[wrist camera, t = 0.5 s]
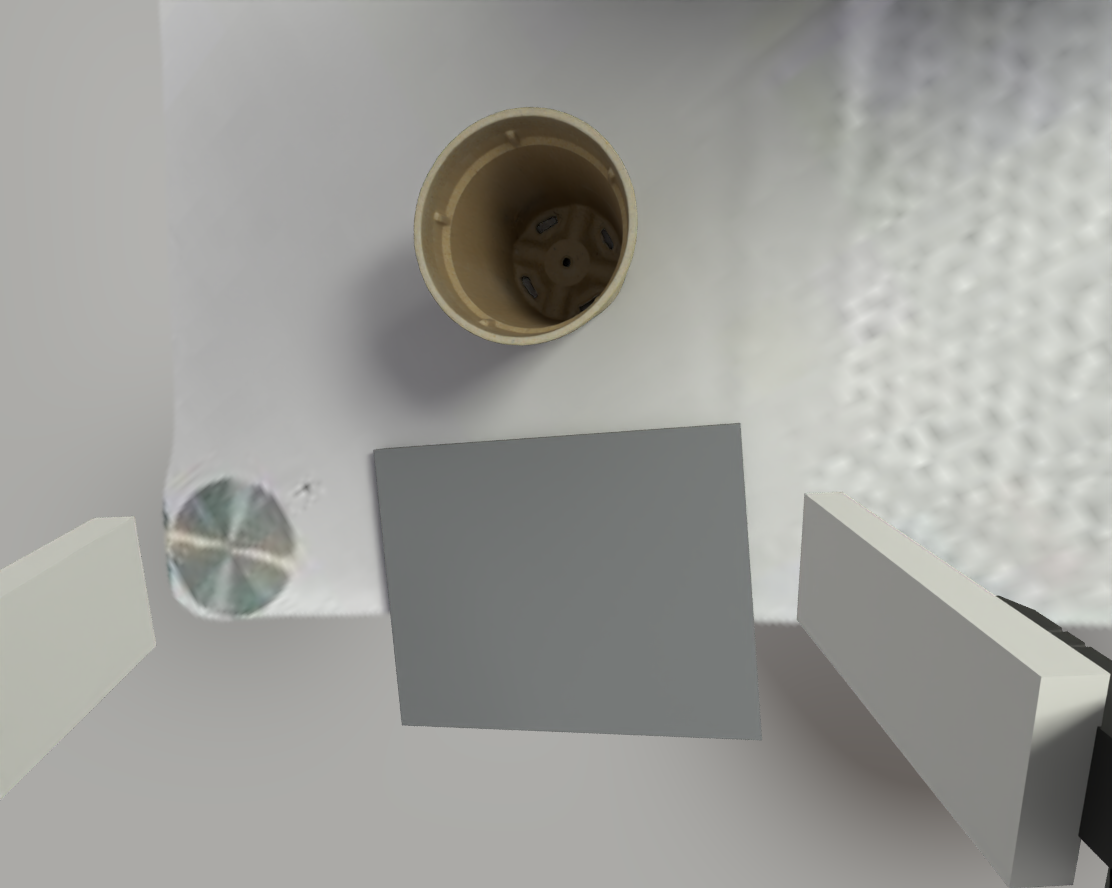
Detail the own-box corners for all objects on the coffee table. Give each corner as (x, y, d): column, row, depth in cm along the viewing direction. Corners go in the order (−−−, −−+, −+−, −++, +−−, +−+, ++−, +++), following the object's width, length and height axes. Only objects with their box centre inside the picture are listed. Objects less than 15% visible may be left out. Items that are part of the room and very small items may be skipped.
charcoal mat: (740, 422, 35) (740, 423, 34) (761, 732, 36) (761, 740, 35) (380, 448, 40) (373, 450, 40) (408, 718, 41) (401, 725, 41)
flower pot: (552, 133, 36) (496, 59, 28) (699, 237, 35) (686, 191, 27) (452, 284, 38) (373, 258, 30) (587, 389, 37) (543, 391, 29)
